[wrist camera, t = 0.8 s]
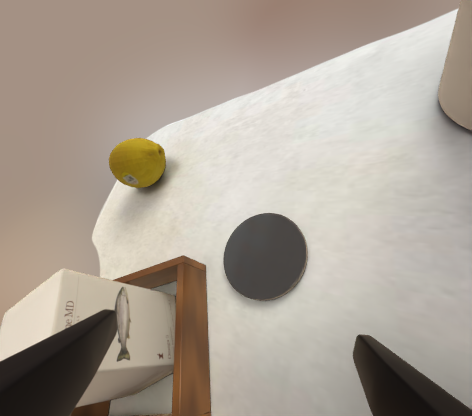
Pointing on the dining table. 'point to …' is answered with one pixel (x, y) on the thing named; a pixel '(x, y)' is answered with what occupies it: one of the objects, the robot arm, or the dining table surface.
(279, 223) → the slate coaster
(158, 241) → the dining table surface
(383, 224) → the dining table surface
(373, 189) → the dining table surface
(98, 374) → the white packaging box
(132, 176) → the lemon
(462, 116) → the cylinder vase
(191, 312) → the brown square shallow frame
